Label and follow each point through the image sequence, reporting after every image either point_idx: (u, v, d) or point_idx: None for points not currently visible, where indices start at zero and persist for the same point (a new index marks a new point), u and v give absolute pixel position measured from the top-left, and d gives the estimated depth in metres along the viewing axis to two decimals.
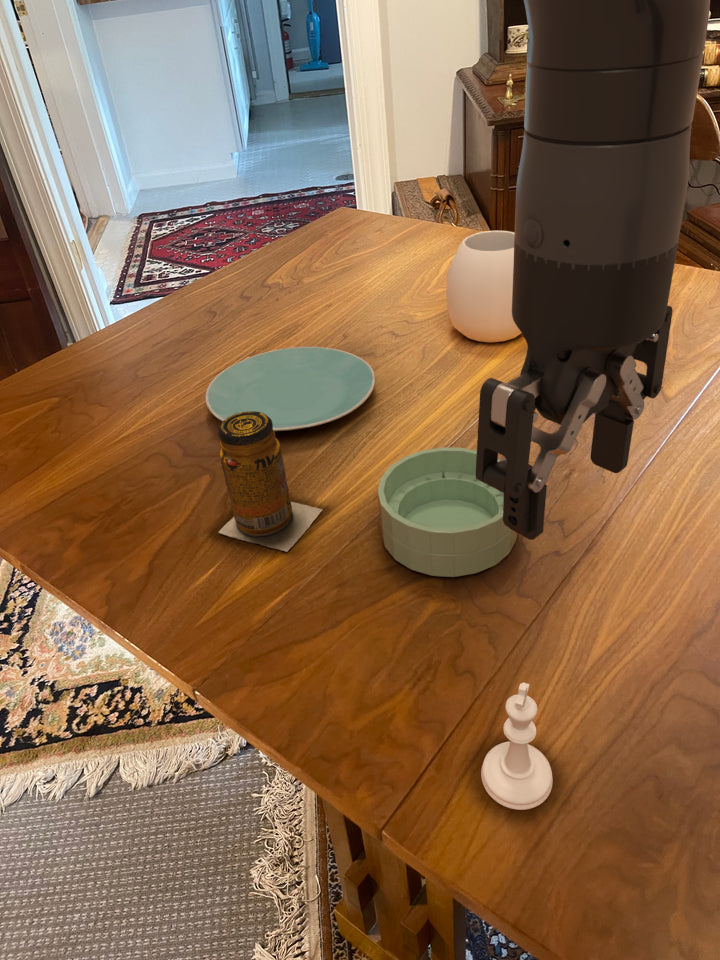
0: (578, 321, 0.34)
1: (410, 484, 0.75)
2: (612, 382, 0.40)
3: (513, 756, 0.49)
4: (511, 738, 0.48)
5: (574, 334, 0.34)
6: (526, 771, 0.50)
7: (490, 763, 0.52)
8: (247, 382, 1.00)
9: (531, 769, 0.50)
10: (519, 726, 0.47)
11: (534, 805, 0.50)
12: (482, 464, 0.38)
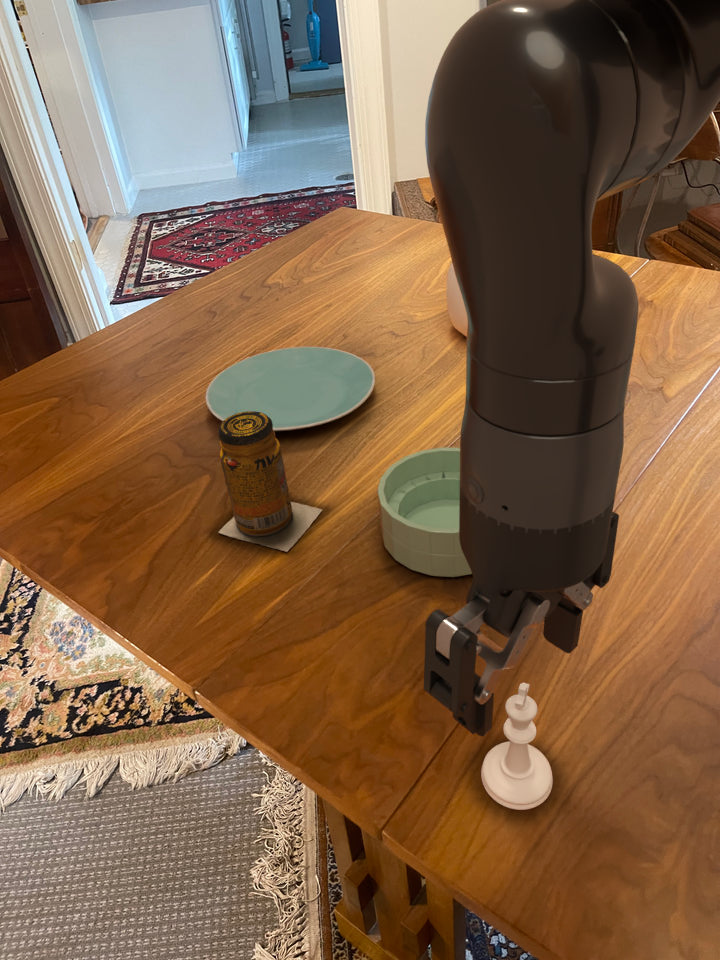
0: (518, 570, 0.35)
1: (410, 484, 0.75)
2: (558, 592, 0.41)
3: (513, 756, 0.49)
4: (511, 738, 0.48)
5: (515, 579, 0.35)
6: (526, 771, 0.50)
7: (490, 763, 0.52)
8: (247, 382, 1.00)
9: (531, 769, 0.50)
10: (519, 726, 0.47)
11: (534, 805, 0.50)
12: (429, 682, 0.39)
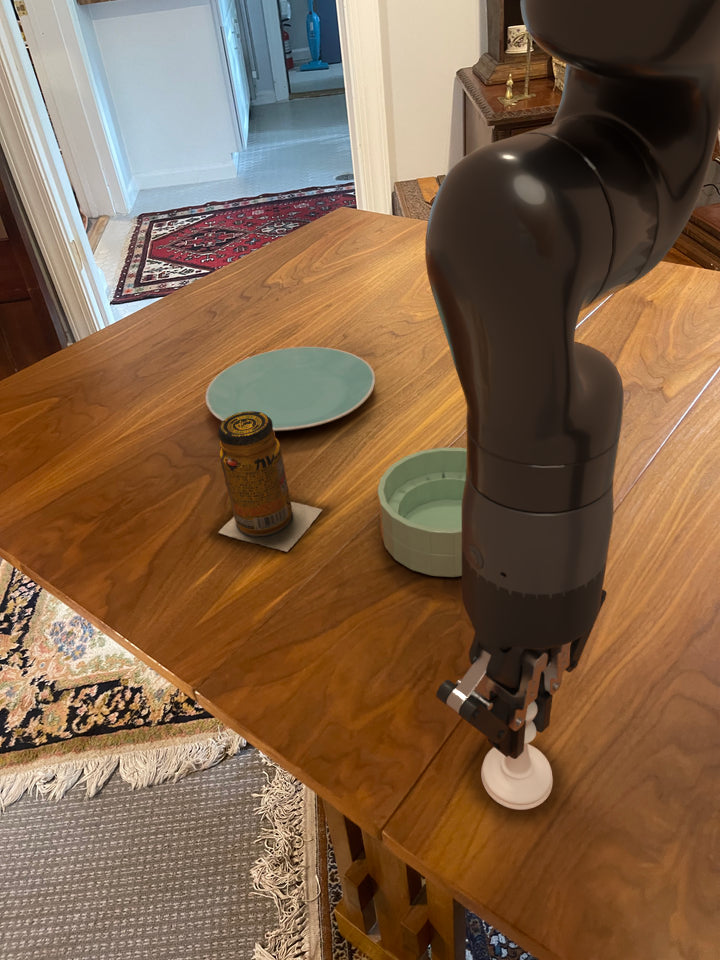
0: (517, 629, 0.38)
1: (410, 484, 0.75)
2: (549, 648, 0.43)
3: None
4: None
5: (514, 638, 0.38)
6: (526, 771, 0.50)
7: (490, 763, 0.52)
8: (247, 382, 1.00)
9: (531, 769, 0.50)
10: None
11: (534, 805, 0.50)
12: None
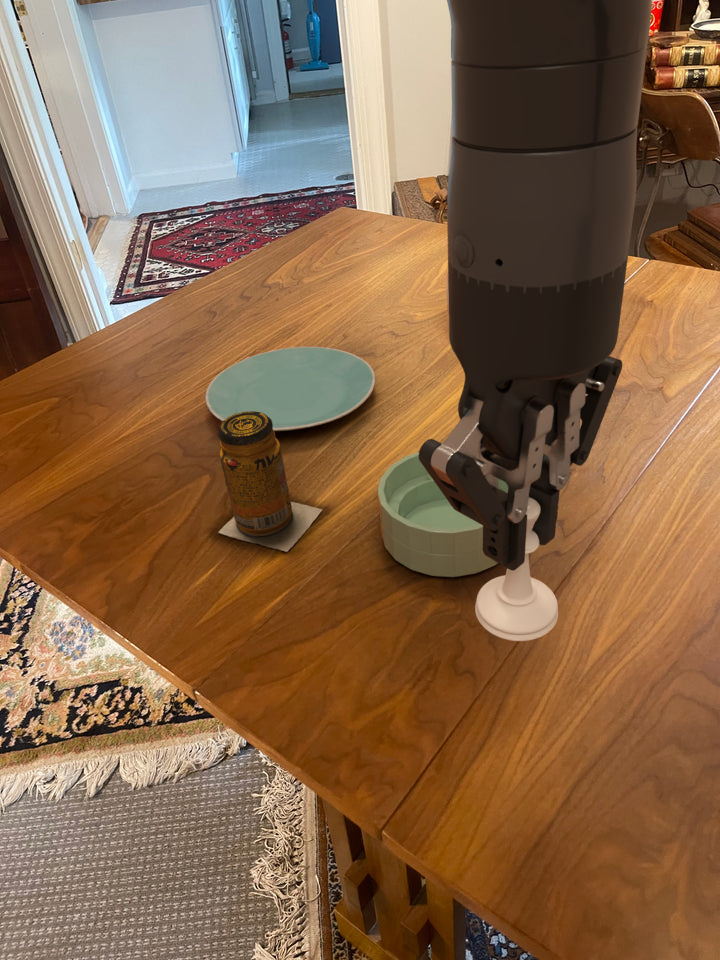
0: (516, 349, 0.30)
1: (410, 484, 0.75)
2: (555, 416, 0.36)
3: (512, 577, 0.42)
4: None
5: (513, 363, 0.31)
6: (527, 597, 0.43)
7: (485, 594, 0.44)
8: (247, 382, 1.00)
9: (533, 595, 0.43)
10: None
11: (537, 636, 0.42)
12: (454, 504, 0.36)
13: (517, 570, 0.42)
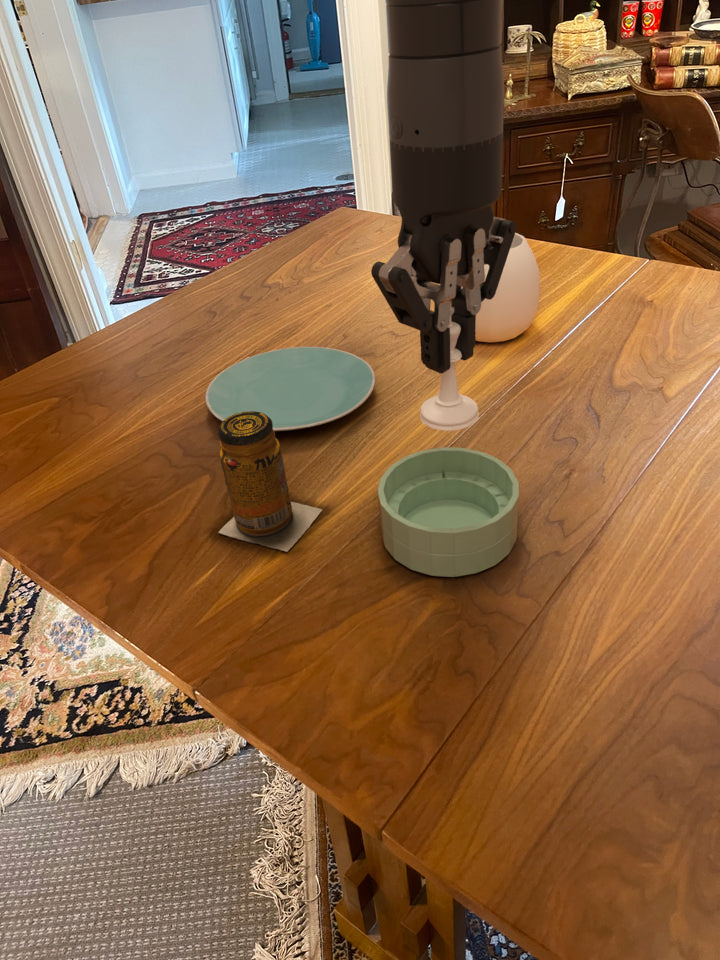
0: (430, 192, 0.48)
1: (410, 484, 0.75)
2: (465, 254, 0.53)
3: (444, 384, 0.59)
4: None
5: (429, 202, 0.48)
6: (455, 400, 0.60)
7: (427, 403, 0.62)
8: (247, 382, 1.00)
9: (460, 400, 0.60)
10: None
11: (461, 427, 0.60)
12: (398, 315, 0.54)
13: (447, 378, 0.59)
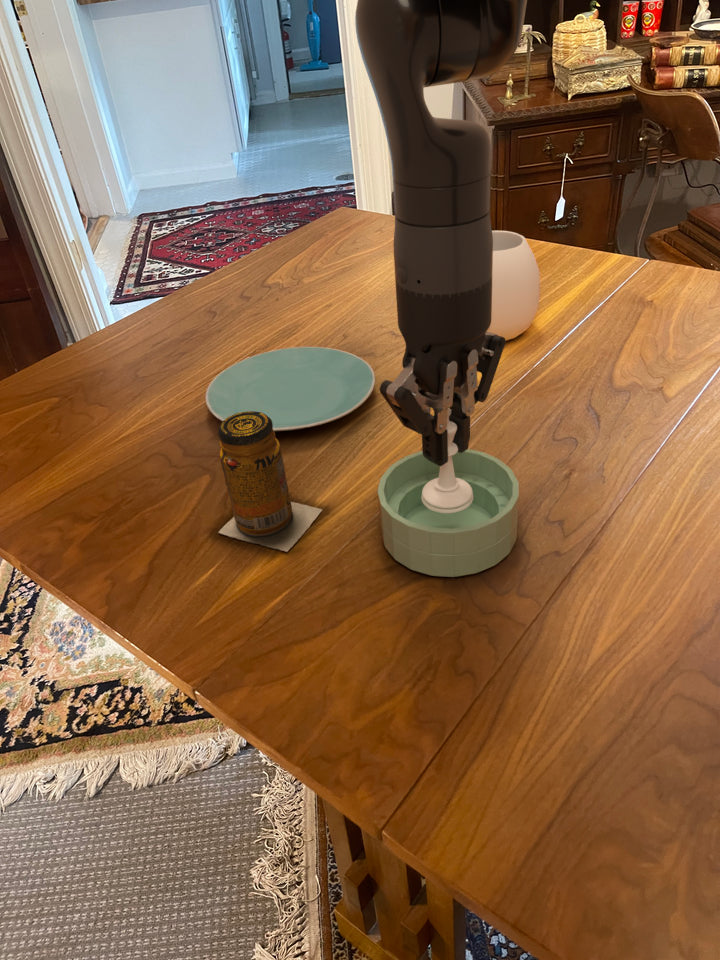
0: (430, 328, 0.56)
1: (410, 484, 0.75)
2: (461, 369, 0.62)
3: (442, 472, 0.68)
4: None
5: (429, 336, 0.56)
6: (452, 486, 0.68)
7: (427, 487, 0.70)
8: (247, 382, 1.00)
9: (456, 485, 0.69)
10: None
11: (458, 510, 0.68)
12: (402, 421, 0.62)
13: (445, 468, 0.67)
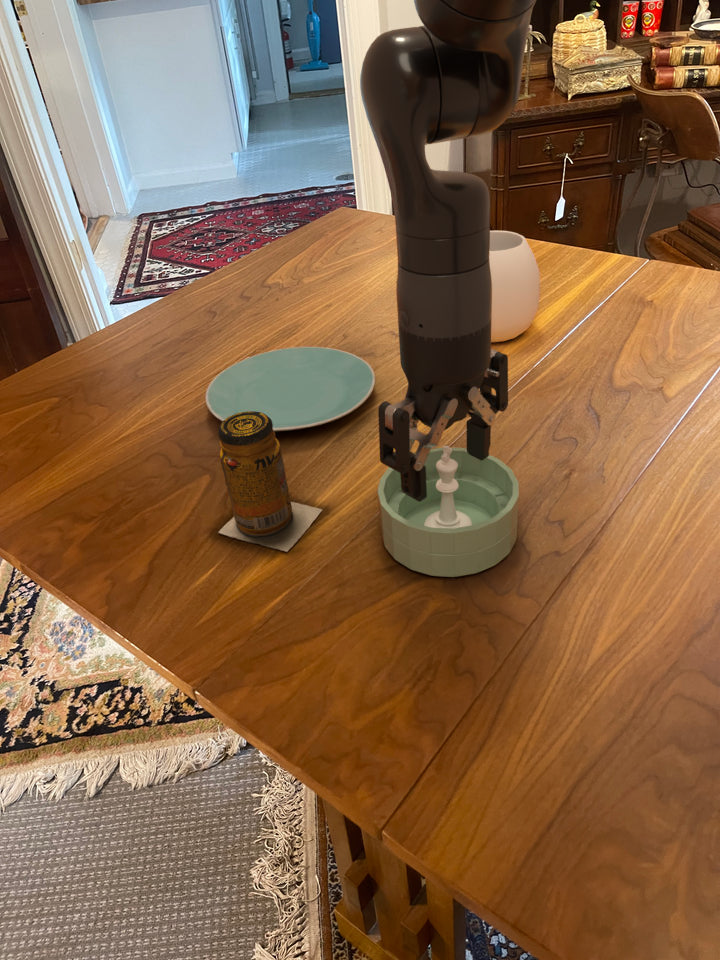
0: (432, 369, 0.58)
1: None
2: (467, 402, 0.64)
3: (443, 507, 0.70)
4: (440, 489, 0.69)
5: (431, 376, 0.58)
6: (453, 520, 0.71)
7: (429, 520, 0.72)
8: (247, 382, 1.00)
9: (457, 520, 0.71)
10: (445, 478, 0.68)
11: None
12: (383, 453, 0.62)
13: (446, 503, 0.70)
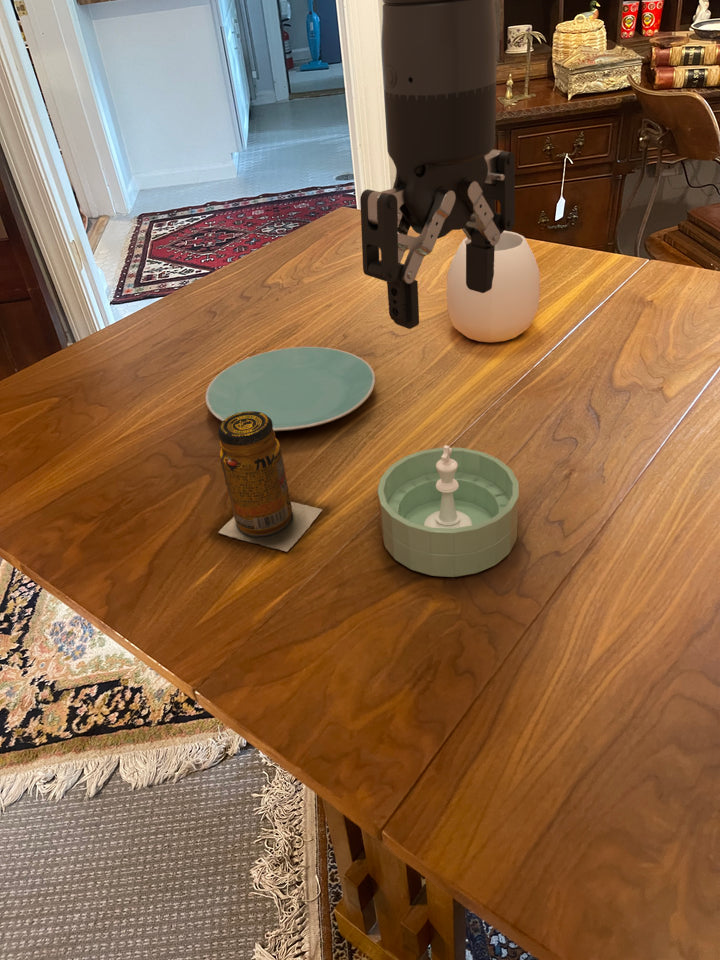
0: (424, 141, 0.48)
1: (410, 484, 0.75)
2: (466, 206, 0.54)
3: (443, 507, 0.70)
4: (440, 489, 0.69)
5: (423, 152, 0.49)
6: (453, 520, 0.71)
7: (429, 520, 0.72)
8: (247, 382, 1.00)
9: (457, 520, 0.71)
10: (445, 478, 0.68)
11: None
12: (366, 259, 0.52)
13: (446, 503, 0.70)
